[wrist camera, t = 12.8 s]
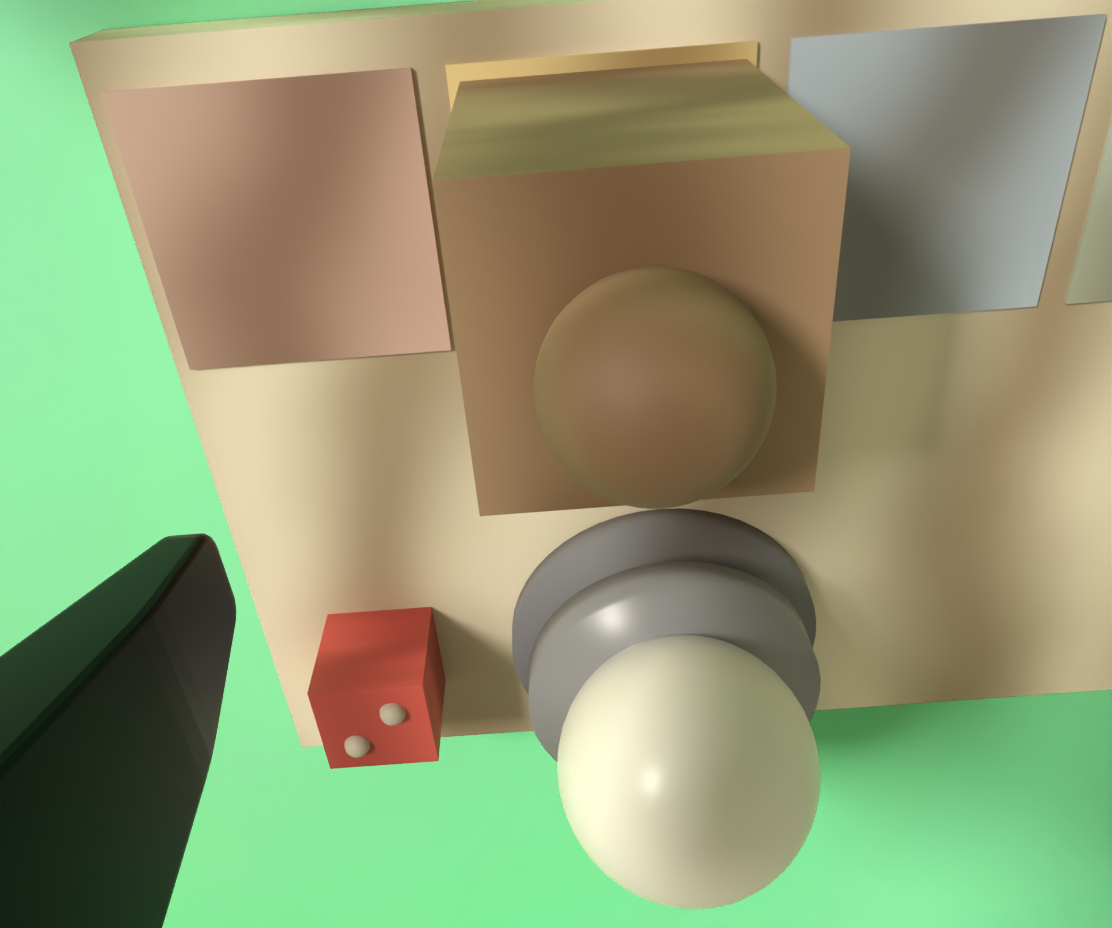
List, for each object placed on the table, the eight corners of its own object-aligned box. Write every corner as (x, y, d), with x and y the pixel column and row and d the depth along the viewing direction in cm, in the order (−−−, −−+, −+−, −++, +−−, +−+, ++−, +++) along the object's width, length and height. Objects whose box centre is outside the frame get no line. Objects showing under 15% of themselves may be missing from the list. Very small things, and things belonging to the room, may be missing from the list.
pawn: (746, 59, 16) (930, 216, 9) (735, 323, 19) (867, 605, 12) (460, 81, 16) (410, 255, 9) (490, 341, 19) (472, 633, 12)
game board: (1419, -73, 17) (1678, -57, 13) (1135, 654, 27) (1233, 780, 23) (102, 29, 17) (-15, 76, 13) (314, 712, 27) (281, 847, 23)
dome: (822, 550, 20) (912, 756, 16) (797, 753, 24) (864, 968, 19) (516, 572, 20) (515, 784, 16) (539, 771, 24) (544, 990, 19)
